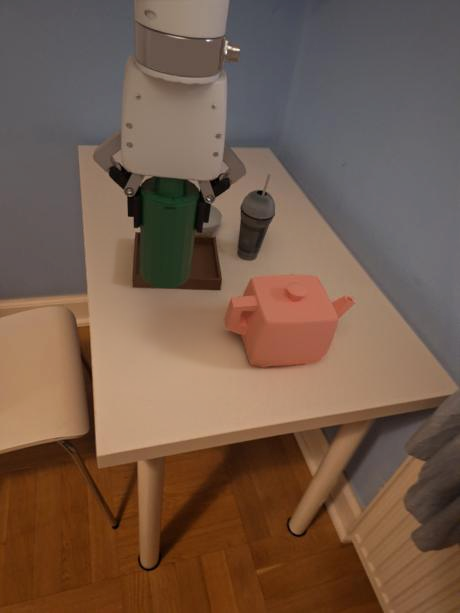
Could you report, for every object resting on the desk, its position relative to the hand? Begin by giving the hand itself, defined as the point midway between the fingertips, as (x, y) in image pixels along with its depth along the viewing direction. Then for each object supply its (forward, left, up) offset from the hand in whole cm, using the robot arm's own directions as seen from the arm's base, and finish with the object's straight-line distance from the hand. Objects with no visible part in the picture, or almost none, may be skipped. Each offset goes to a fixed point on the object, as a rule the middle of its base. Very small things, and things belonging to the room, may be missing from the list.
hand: (168, 222), depth 48 cm
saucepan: (+8, +43, -28) cm, 52 cm away
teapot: (+21, +4, -28) cm, 35 cm away
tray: (+3, +25, -28) cm, 37 cm away
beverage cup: (+19, +30, -28) cm, 45 cm away
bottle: (0, 0, -8) cm, 8 cm away
